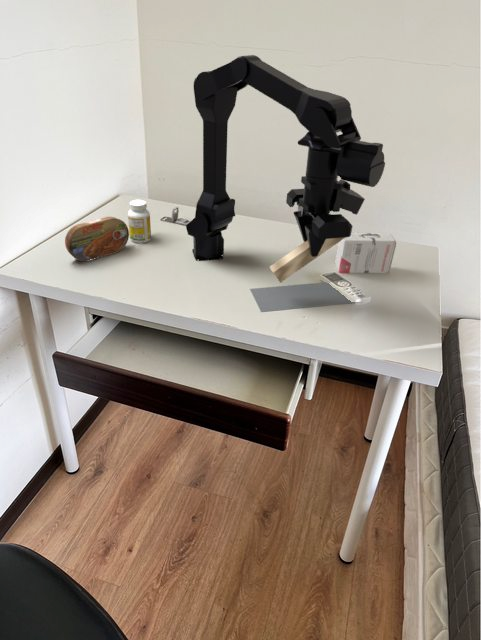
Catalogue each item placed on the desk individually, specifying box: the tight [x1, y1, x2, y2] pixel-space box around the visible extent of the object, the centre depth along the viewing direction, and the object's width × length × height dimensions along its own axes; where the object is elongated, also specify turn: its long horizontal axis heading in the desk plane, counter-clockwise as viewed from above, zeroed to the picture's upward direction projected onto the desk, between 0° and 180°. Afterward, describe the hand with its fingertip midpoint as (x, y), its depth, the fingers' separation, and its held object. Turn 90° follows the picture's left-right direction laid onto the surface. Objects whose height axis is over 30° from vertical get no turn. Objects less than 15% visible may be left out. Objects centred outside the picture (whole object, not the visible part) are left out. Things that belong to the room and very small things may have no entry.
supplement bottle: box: [127, 199, 152, 244], centre depth 115 cm, size 5×5×10 cm
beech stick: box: [269, 237, 346, 284], centre depth 92 cm, size 16×2×3 cm
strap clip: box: [159, 206, 192, 227], centre depth 127 cm, size 8×3×4 cm, turn 68°
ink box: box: [334, 232, 397, 274], centre depth 107 cm, size 9×5×12 cm
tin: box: [64, 216, 130, 262], centre depth 108 cm, size 15×3×8 cm, turn 131°
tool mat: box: [249, 281, 355, 313], centre depth 98 cm, size 22×9×1 cm, turn 104°
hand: (311, 253), depth 92 cm, fingers closed on beech stick, 2 cm apart
